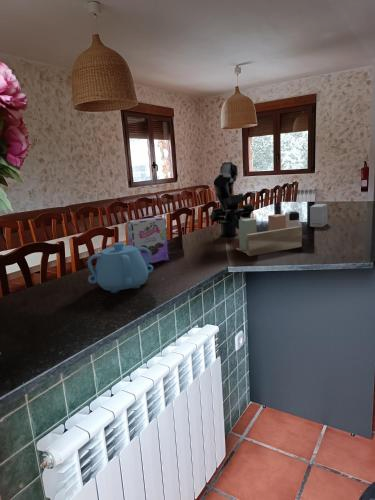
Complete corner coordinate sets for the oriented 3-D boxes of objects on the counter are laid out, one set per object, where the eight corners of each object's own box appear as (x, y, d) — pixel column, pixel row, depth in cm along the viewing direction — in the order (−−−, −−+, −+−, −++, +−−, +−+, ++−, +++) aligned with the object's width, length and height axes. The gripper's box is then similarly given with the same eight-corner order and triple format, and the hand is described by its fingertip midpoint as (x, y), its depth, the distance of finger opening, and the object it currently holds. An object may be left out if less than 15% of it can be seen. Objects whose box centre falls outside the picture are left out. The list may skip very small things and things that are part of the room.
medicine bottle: (298, 236, 157) (298, 210, 155) (302, 240, 151) (302, 212, 148) (282, 237, 158) (282, 211, 155) (285, 241, 151) (284, 213, 148)
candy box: (135, 266, 128) (130, 222, 124) (130, 263, 133) (125, 220, 129) (169, 260, 134) (166, 217, 130) (163, 257, 139) (159, 216, 135)
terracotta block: (268, 243, 148) (268, 215, 145) (278, 242, 149) (278, 214, 147) (275, 245, 143) (275, 216, 140) (285, 244, 145) (285, 215, 142)
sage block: (239, 248, 143) (238, 219, 140) (250, 246, 144) (249, 218, 142) (246, 251, 138) (245, 221, 135) (257, 249, 140) (256, 219, 137)
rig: (233, 249, 142) (233, 230, 140) (282, 241, 151) (282, 223, 149) (250, 256, 131) (249, 235, 129) (301, 246, 140) (301, 226, 138)
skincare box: (315, 223, 187) (315, 203, 185) (327, 223, 184) (328, 203, 181) (309, 226, 179) (309, 206, 177) (322, 227, 175) (322, 206, 173)
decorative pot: (127, 299, 97) (122, 251, 93) (84, 292, 104) (78, 248, 101) (159, 280, 111) (155, 238, 107) (119, 275, 118) (114, 236, 115)
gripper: (211, 189, 143) (225, 219, 135) (250, 185, 149) (266, 213, 142) (204, 207, 152) (217, 236, 144) (241, 202, 158) (256, 230, 151)
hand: (239, 228), depth 145 cm, fingers closed
